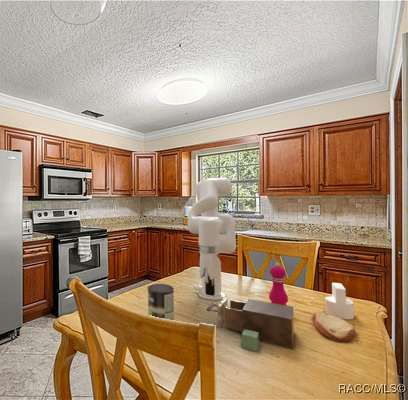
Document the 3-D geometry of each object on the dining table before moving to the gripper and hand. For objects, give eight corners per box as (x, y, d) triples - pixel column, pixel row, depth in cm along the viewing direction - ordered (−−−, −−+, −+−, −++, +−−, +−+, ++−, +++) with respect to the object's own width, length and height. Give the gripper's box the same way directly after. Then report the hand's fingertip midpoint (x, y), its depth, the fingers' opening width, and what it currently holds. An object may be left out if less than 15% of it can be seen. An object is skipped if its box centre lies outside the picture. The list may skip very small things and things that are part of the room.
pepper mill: (291, 311, 117) (290, 265, 117) (272, 310, 118) (271, 264, 118) (284, 305, 124) (282, 261, 124) (266, 304, 125) (265, 261, 125)
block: (242, 347, 89) (241, 334, 90) (244, 341, 93) (244, 328, 93) (257, 351, 87) (256, 337, 87) (259, 345, 90) (258, 332, 90)
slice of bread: (320, 315, 113) (320, 305, 113) (375, 334, 96) (374, 324, 96) (289, 322, 107) (288, 312, 107) (340, 344, 90) (340, 333, 90)
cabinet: (242, 336, 96) (242, 309, 97) (248, 323, 107) (248, 298, 107) (292, 349, 88) (291, 319, 88) (293, 333, 98) (293, 306, 98)
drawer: (204, 324, 105) (204, 303, 105) (212, 313, 114) (212, 295, 114) (258, 337, 94) (257, 314, 94) (262, 324, 103) (261, 304, 103)
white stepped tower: (356, 321, 106) (355, 290, 107) (327, 316, 111) (326, 287, 111) (350, 312, 114) (350, 284, 114) (323, 308, 119) (323, 281, 119)
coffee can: (151, 329, 103) (151, 292, 103) (145, 318, 113) (145, 284, 114) (178, 328, 104) (177, 291, 104) (170, 316, 114) (169, 283, 114)
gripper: (205, 245, 118) (206, 287, 118) (193, 251, 106) (194, 298, 106) (223, 246, 113) (224, 290, 113) (213, 253, 101) (214, 302, 101)
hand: (210, 294), depth 110 cm, fingers closed
